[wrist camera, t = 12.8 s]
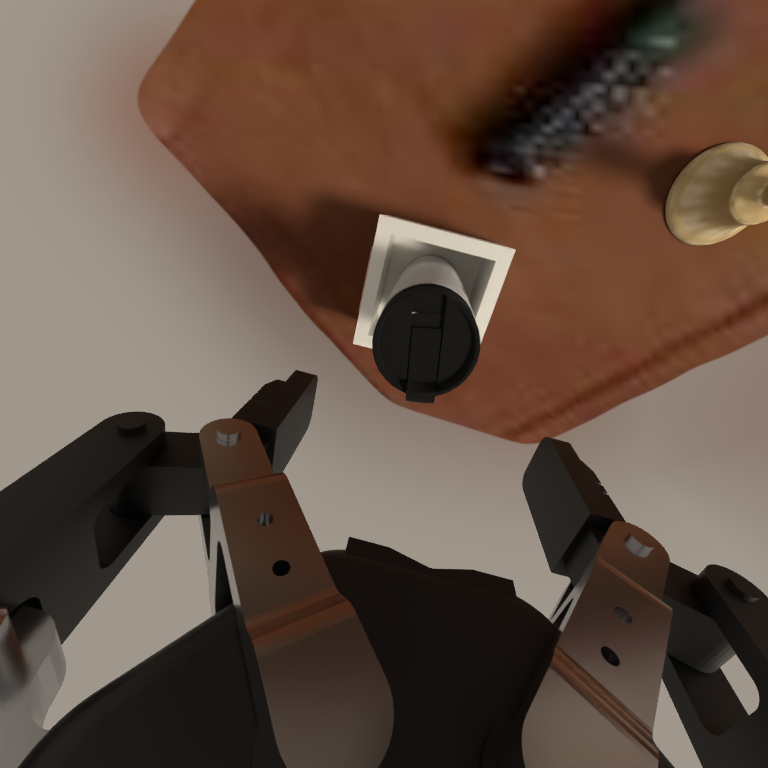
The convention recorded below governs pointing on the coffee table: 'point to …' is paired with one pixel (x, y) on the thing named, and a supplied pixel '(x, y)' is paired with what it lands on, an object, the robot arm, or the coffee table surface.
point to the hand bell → (719, 194)
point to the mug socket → (411, 240)
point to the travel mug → (426, 331)
